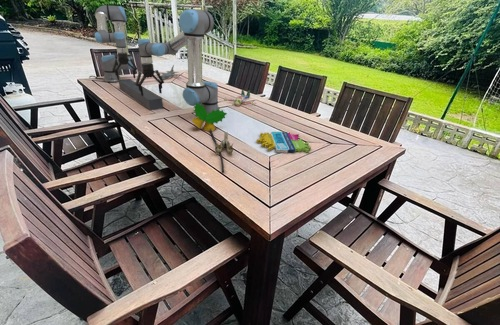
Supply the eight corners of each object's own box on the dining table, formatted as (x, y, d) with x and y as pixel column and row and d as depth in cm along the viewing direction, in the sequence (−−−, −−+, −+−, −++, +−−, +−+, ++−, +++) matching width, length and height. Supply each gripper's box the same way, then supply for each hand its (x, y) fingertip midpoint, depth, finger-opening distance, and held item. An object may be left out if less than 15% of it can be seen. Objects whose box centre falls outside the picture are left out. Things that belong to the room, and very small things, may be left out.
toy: (261, 91, 228) (254, 99, 202) (261, 99, 231) (253, 108, 205) (231, 87, 233) (220, 95, 207) (230, 95, 236) (219, 104, 210)
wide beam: (163, 108, 193) (162, 98, 190) (149, 110, 188) (148, 100, 184) (131, 87, 239) (129, 78, 236) (119, 88, 234) (118, 79, 230)
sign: (313, 150, 142) (258, 149, 139) (312, 153, 143) (258, 152, 140) (301, 132, 164) (254, 130, 161) (301, 134, 165) (254, 133, 162)
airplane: (149, 74, 288) (148, 65, 283) (178, 73, 302) (177, 64, 297) (156, 83, 260) (154, 73, 255) (187, 81, 273) (186, 71, 268)
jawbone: (234, 135, 144) (233, 125, 135) (233, 160, 138) (232, 151, 129) (217, 135, 144) (216, 125, 135) (216, 160, 138) (214, 150, 129)
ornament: (218, 133, 171) (224, 110, 169) (221, 134, 163) (227, 111, 161) (186, 125, 162) (192, 101, 160) (189, 126, 155) (195, 101, 153)
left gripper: (136, 51, 226) (139, 76, 237) (104, 52, 212) (109, 79, 223) (139, 52, 221) (142, 78, 232) (107, 54, 207) (112, 81, 218)
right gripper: (162, 61, 190) (165, 91, 200) (126, 63, 176) (132, 95, 186) (166, 63, 185) (169, 93, 195) (130, 65, 171) (135, 97, 181)
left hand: (126, 78), depth 228 cm, fingers open, 13 cm apart
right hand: (151, 94), depth 191 cm, fingers open, 13 cm apart
